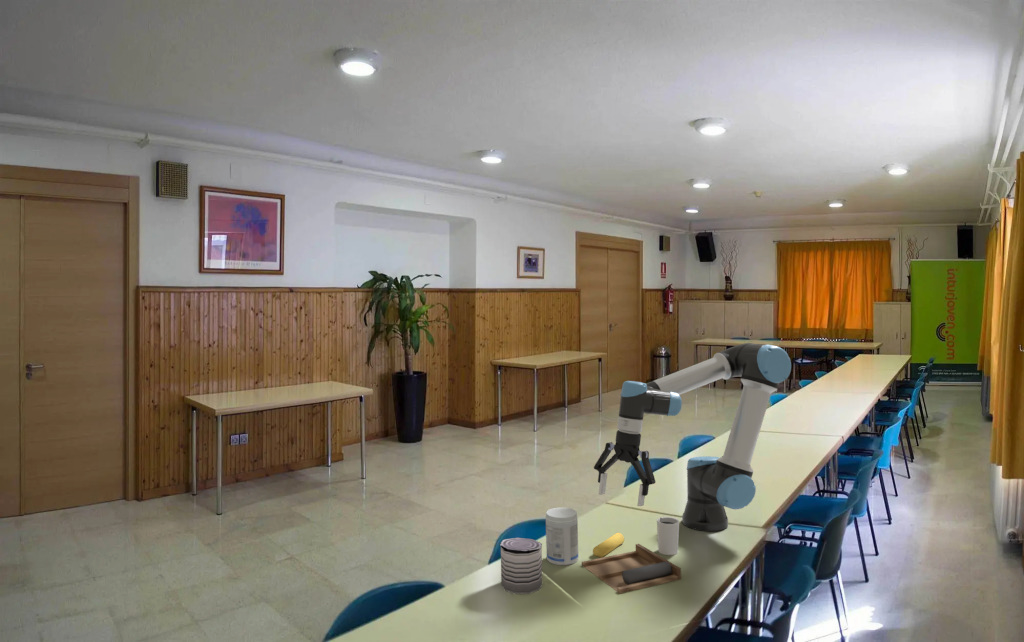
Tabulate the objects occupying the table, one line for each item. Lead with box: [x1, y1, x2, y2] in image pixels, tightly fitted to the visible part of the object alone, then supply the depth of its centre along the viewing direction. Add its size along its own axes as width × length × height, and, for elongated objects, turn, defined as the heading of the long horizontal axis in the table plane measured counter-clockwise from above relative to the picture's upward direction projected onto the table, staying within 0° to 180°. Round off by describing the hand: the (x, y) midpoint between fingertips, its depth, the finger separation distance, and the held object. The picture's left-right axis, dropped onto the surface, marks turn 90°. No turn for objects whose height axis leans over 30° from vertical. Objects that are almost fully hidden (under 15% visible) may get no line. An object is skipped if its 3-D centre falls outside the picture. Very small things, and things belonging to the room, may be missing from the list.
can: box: [499, 537, 543, 595], centre depth 178 cm, size 11×11×12 cm
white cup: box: [656, 516, 680, 556], centre depth 199 cm, size 7×7×10 cm
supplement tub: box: [545, 506, 579, 566], centre depth 195 cm, size 10×10×15 cm
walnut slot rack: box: [581, 543, 682, 594], centre depth 185 cm, size 20×20×3 cm
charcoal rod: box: [622, 560, 672, 584], centre depth 180 cm, size 14×4×4 cm, turn 114°
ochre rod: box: [592, 532, 625, 558], centre depth 202 cm, size 14×4×4 cm, turn 144°
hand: (620, 499), depth 201 cm, fingers open, 13 cm apart
